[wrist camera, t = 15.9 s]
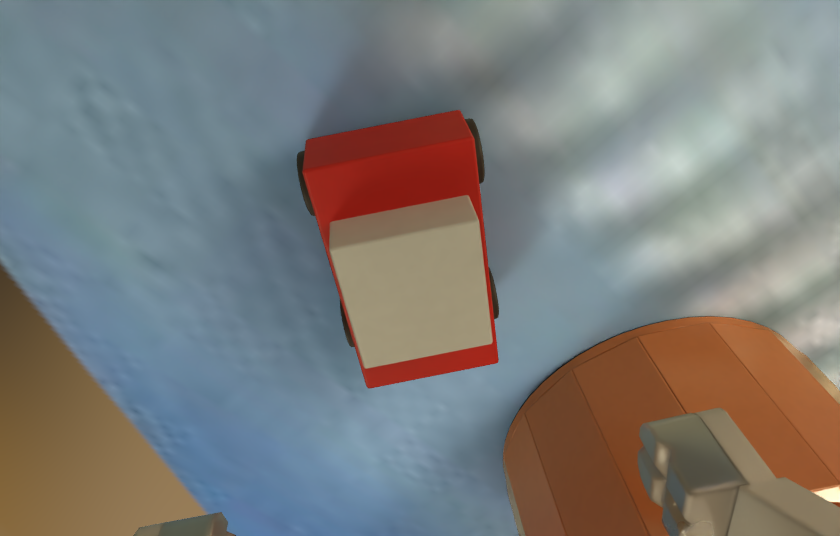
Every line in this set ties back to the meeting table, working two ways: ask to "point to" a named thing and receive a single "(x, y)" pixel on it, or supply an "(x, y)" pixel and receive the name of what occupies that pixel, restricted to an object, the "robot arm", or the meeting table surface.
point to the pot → (659, 399)
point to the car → (406, 244)
